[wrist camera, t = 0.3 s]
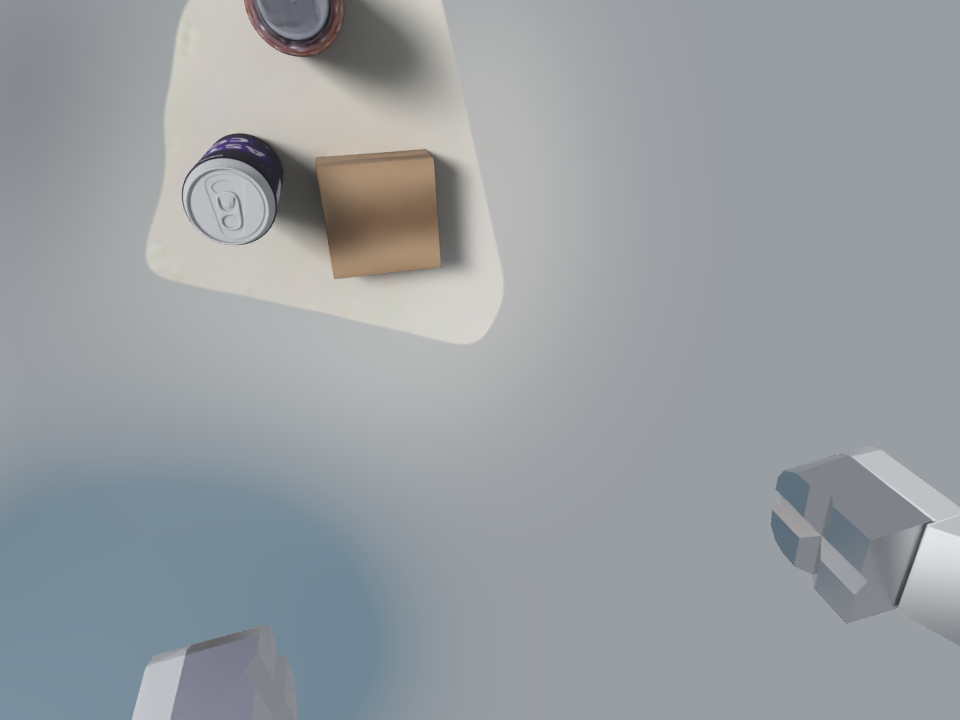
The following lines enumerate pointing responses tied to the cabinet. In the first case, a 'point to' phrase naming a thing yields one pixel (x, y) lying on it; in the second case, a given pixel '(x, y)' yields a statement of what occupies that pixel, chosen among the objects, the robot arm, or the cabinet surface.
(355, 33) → the cabinet surface
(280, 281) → the cabinet surface
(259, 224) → the beverage can
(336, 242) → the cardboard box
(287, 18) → the supplement bottle
